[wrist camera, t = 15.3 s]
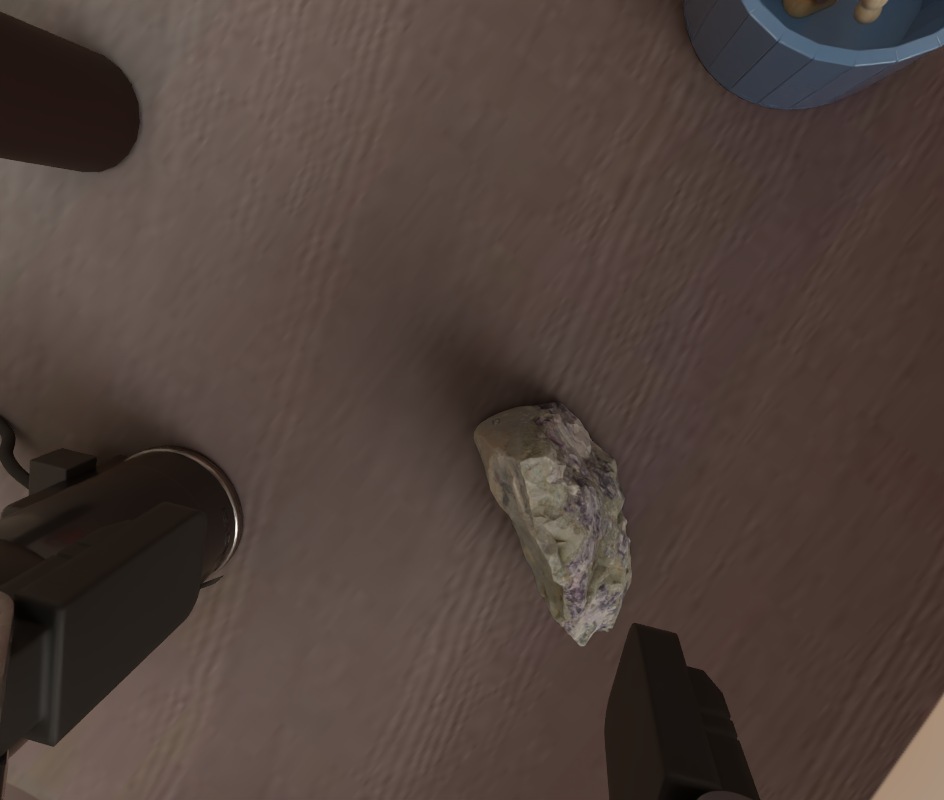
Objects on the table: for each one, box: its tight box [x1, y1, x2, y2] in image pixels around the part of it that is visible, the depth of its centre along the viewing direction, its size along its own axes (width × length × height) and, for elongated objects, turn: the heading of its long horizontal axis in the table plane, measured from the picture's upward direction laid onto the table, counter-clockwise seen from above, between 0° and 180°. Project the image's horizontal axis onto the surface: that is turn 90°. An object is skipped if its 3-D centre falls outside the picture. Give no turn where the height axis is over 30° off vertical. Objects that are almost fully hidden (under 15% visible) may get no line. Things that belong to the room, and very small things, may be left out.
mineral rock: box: [474, 402, 632, 646], centre depth 36 cm, size 13×11×10 cm
